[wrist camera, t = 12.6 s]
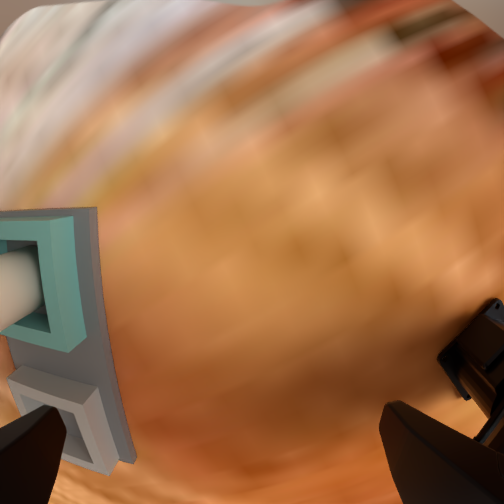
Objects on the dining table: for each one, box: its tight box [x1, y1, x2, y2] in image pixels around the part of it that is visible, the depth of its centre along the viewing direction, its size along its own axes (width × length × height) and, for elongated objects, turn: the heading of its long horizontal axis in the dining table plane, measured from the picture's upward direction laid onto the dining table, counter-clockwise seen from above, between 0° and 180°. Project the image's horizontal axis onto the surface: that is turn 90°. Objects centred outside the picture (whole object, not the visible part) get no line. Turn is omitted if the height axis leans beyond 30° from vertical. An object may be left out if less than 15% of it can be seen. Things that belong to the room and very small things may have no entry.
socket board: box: [0, 207, 137, 476], centre depth 20 cm, size 22×11×4 cm, turn 179°
